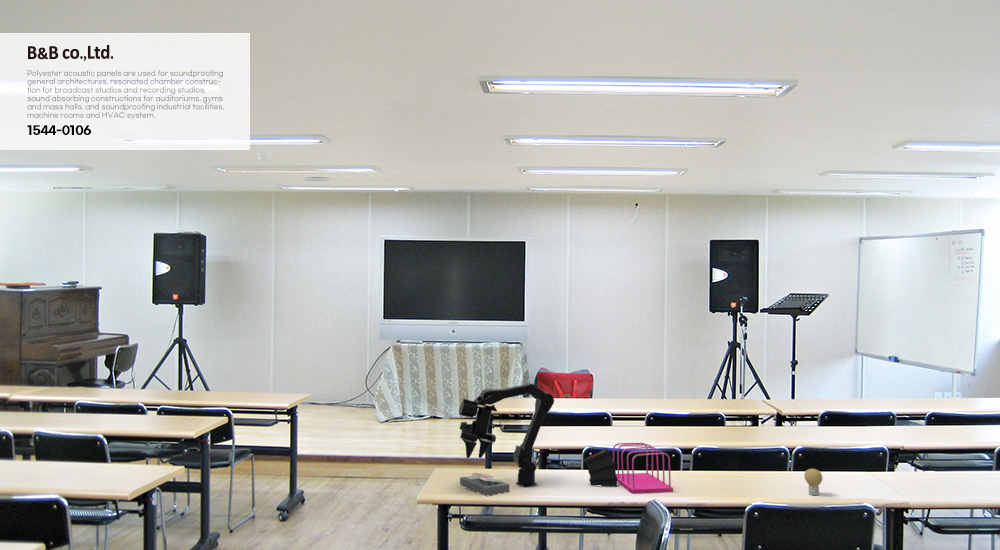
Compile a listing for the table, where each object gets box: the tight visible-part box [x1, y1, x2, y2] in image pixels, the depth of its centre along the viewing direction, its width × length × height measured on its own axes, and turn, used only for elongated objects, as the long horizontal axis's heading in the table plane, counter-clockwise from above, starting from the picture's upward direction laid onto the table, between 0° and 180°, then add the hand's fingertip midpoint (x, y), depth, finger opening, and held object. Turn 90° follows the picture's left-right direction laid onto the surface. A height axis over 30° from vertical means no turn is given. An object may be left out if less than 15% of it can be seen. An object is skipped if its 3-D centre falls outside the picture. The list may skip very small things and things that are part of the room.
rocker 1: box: [471, 472, 494, 478], centre depth 255 cm, size 8×4×1 cm, turn 123°
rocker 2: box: [480, 476, 503, 482], centre depth 250 cm, size 8×4×1 cm, turn 123°
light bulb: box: [804, 468, 823, 496], centre depth 246 cm, size 6×6×10 cm
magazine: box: [583, 448, 618, 487], centre depth 259 cm, size 4×13×15 cm, turn 85°
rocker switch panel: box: [459, 475, 510, 497], centre depth 254 cm, size 11×20×4 cm, turn 34°
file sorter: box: [612, 442, 674, 494], centre depth 261 cm, size 17×25×16 cm
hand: (473, 457), depth 254 cm, fingers open, 9 cm apart
